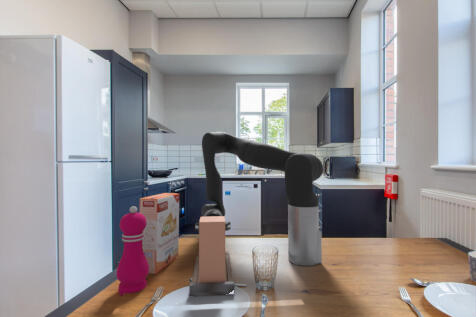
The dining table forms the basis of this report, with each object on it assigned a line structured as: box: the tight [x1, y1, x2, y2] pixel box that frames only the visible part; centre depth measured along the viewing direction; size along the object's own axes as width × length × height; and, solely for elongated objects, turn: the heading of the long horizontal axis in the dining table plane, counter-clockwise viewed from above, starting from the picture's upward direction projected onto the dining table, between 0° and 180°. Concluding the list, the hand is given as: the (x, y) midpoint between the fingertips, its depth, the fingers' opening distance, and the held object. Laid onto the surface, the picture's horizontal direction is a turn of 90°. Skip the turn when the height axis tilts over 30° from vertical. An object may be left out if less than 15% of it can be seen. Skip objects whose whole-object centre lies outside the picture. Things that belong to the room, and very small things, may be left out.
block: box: [198, 216, 226, 283], centre depth 62 cm, size 6×6×16 cm
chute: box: [188, 253, 235, 298], centre depth 68 cm, size 10×22×3 cm, turn 5°
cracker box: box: [138, 192, 180, 275], centre depth 75 cm, size 14×6×21 cm, turn 168°
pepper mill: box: [115, 205, 149, 296], centre depth 61 cm, size 7×7×20 cm
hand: (212, 232), depth 81 cm, fingers closed
